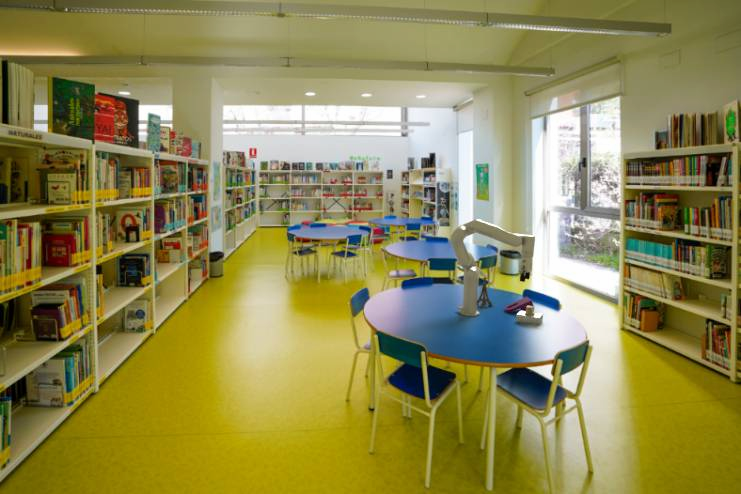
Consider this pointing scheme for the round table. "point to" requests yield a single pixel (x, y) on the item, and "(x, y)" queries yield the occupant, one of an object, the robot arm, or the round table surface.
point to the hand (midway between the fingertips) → (524, 280)
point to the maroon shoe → (519, 305)
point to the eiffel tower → (484, 292)
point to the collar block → (529, 318)
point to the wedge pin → (530, 310)
